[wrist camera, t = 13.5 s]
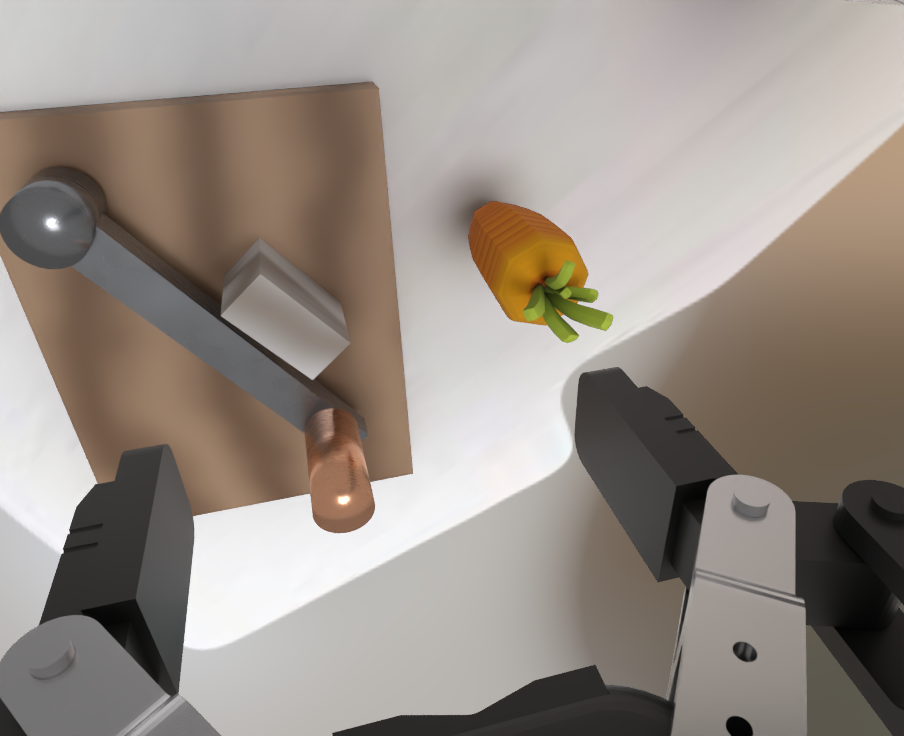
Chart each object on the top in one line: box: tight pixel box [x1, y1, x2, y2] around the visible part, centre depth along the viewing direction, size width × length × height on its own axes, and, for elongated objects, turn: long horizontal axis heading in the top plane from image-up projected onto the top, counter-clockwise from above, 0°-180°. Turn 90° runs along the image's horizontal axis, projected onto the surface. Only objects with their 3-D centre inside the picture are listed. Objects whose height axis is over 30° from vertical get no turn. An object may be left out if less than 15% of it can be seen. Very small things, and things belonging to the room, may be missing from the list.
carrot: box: [468, 201, 613, 343], centre depth 35 cm, size 5×5×15 cm
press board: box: [0, 82, 413, 516], centre depth 38 cm, size 20×26×7 cm
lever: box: [0, 167, 375, 533], centre depth 34 cm, size 4×22×10 cm, turn 40°
